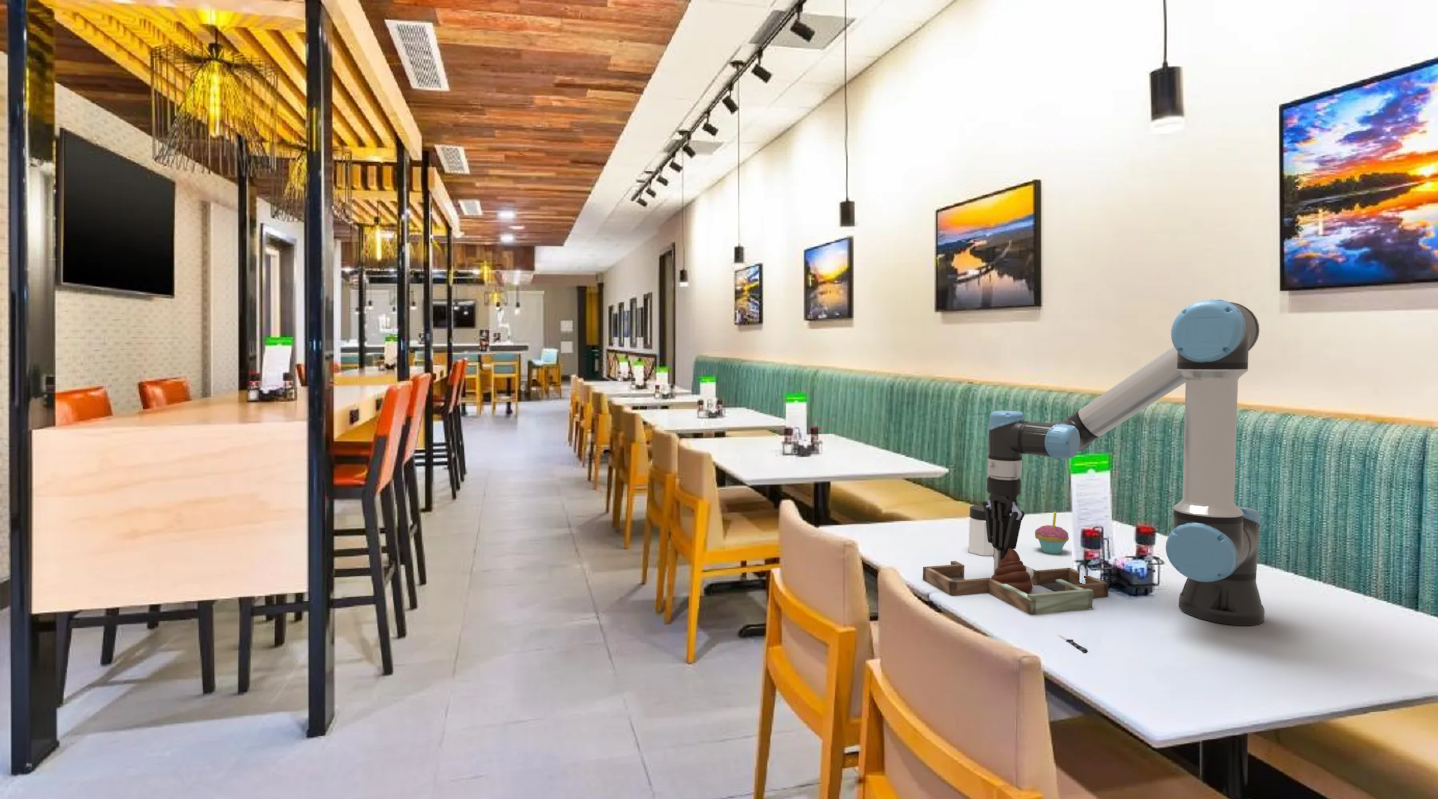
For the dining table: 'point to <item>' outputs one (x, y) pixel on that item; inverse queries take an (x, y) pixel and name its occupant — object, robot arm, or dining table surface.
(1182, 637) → the dining table surface
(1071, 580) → the box
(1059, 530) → the cupcake
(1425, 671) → the dining table surface
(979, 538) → the jar
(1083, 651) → the knife
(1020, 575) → the poop emoji
